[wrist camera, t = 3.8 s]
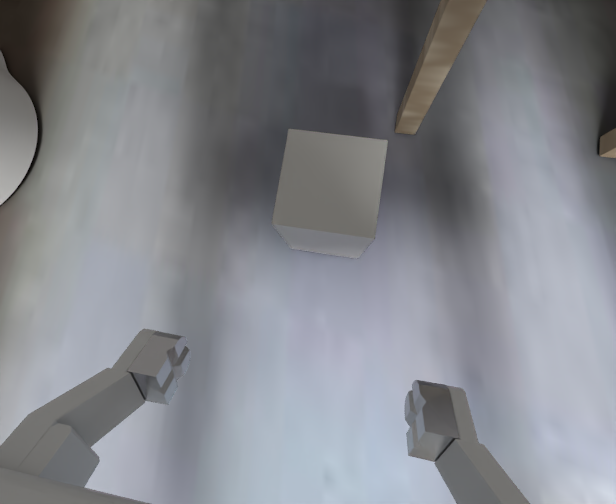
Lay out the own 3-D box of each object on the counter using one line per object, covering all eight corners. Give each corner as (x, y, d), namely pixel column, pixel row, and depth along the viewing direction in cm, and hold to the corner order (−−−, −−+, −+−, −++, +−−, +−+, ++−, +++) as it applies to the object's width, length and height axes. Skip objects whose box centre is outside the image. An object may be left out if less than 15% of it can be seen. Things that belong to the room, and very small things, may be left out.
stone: (291, 248, 23) (271, 224, 15) (302, 184, 23) (288, 128, 15) (358, 258, 22) (374, 238, 14) (367, 193, 23) (388, 140, 15)
